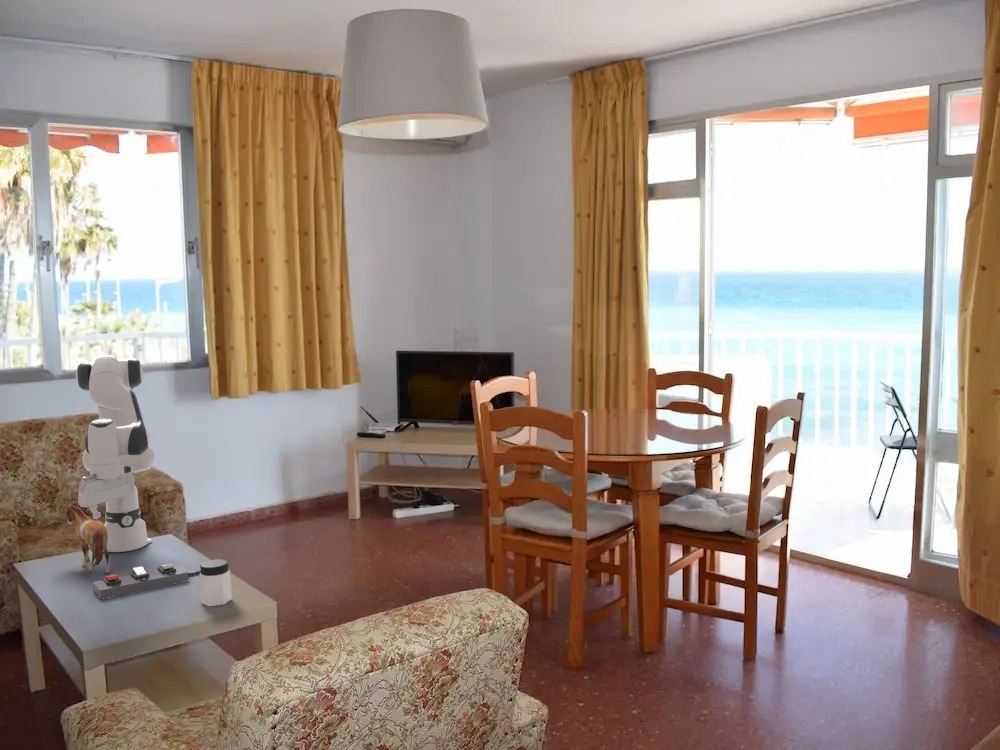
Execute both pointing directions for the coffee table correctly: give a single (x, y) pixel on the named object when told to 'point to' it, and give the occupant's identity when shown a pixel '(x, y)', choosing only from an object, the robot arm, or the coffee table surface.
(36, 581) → the coffee table surface
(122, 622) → the coffee table surface
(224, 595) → the jar
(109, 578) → the red rocker
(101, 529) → the horse figurine
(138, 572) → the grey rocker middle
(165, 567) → the grey rocker end
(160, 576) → the grey switch panel
